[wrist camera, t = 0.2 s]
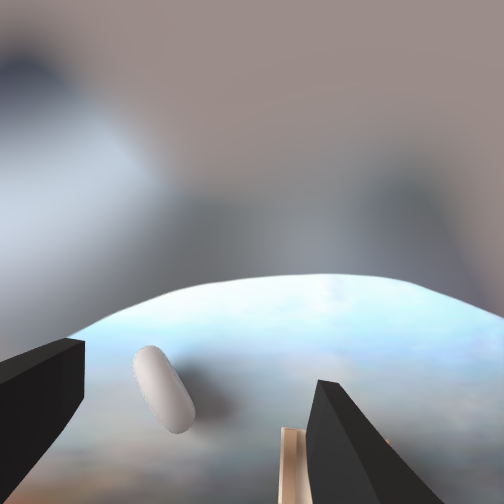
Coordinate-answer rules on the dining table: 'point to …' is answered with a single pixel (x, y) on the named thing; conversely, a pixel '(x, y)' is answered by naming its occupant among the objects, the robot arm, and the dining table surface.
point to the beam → (294, 468)
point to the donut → (163, 390)
